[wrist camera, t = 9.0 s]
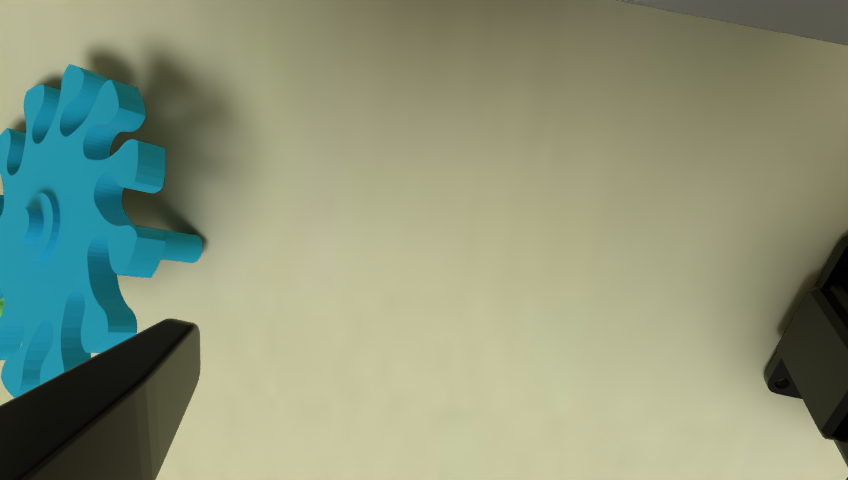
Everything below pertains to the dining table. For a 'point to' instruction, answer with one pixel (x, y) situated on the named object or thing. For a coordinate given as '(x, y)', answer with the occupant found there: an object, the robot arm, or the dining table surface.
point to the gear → (74, 226)
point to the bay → (770, 15)
